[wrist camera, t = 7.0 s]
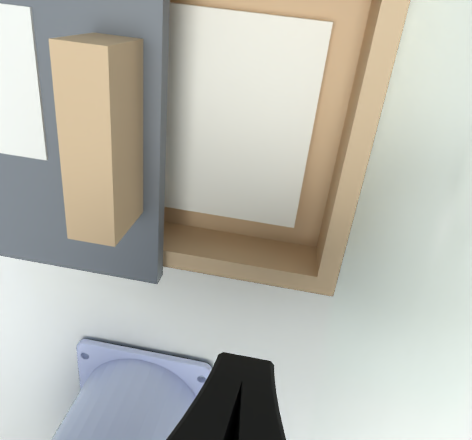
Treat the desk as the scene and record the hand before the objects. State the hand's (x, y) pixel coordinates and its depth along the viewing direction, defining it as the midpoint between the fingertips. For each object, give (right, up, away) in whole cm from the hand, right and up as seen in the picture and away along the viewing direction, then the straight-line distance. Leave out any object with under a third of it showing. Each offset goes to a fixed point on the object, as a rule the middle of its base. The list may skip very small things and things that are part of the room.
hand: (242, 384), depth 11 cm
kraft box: (0, +8, +7) cm, 11 cm away
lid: (-8, +8, +5) cm, 12 cm away
